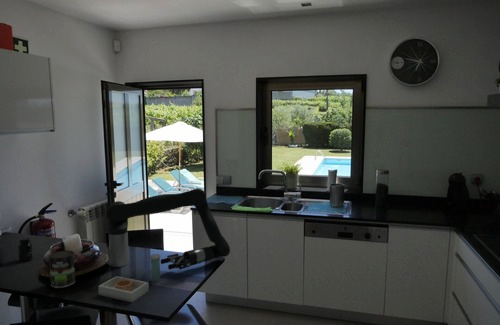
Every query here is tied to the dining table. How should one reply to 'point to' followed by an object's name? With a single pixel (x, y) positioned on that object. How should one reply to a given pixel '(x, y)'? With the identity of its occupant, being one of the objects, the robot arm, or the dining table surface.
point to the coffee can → (62, 269)
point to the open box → (123, 288)
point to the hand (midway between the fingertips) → (164, 264)
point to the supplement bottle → (25, 250)
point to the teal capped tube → (155, 267)
